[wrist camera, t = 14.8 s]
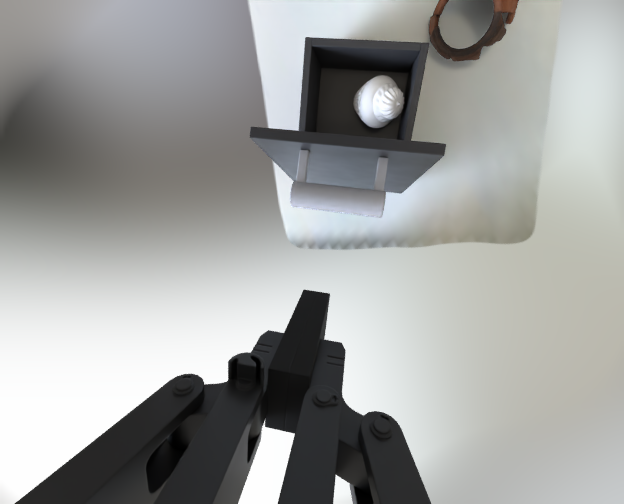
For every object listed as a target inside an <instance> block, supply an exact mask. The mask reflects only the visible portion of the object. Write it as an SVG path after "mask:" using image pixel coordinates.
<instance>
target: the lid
mask: <svg viewBox="0 0 624 504" xmlns="http://www.w3.org/2000/svg"><path fill="white" fill-rule="evenodd" d="M250 138H251V139H252V140H253V141H254V142H255V143H256V144H257V145H258V146H259V147H260V148H261V149H262V150H263V151H264V152H265V153H266V154H267V155H268V156H269V157H270V158H271V159H272V160H273V161H274V162H275V163H276V164H277V165H278V166H279V167H280V168H281V169H282V170H283V171H284V172H285V173H286V174H287V175H288V176H289V177H290V178H291V179H292V180H293V181H294V182H293V184H292V188H291V194H290V203H291V206H292V207H298V208H307V209H315V210H323V211H331V212H339V213H347V214H356V215H364V216H372V217H380V218H381V217H382V214H383V210H384V204H385V196H386V192H394V193H402V192H403V191H405V190H406V189H407V188H408V187H409V186H410V185H411V184H412V183H414V182H415V181H416V180H417V179H418V178H419V177H420V176H422V175H423V174H424V173H425V172H426V171H427V170H428V169H429V168H431V167H432V166H433V165H434V164H435V163H436V162H437V161H438V160H440V159H441V158H442V157H443V156H444V154H445V147H446V144H441V143H430V142H418V141H407V140H396V139H384V138H373V137H362V136H350V135H339V134H327V133H316V132H305V131H293V130H282V129H271V128H258V127H251V131H250Z"/></svg>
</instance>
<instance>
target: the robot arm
mask: <svg viewBox="0 0 624 504" xmlns="http://www.w3.org/2000/svg"><path fill="white" fill-rule="evenodd" d="M329 297H330V294H328V293H322V292H316V291H309V290H303V293H302V295H301V297H300V299H299V301H298V304H297V306H296V308H295V310H294V313H293V315H292V318H291V319H290V321H289V324H288V326H287V328H286V330H285V333H279V332H274V331H269V330H268V331H267V332H265V333H264V334H263V335H261V336H260V338H259V340H258V342H257V344H256V345H255V347H254V348H253V350H252V352H251V353H241V354H238V355H236V356H234V357H232V358H231V359H230V360H229V362H228V378H229V379H228V381H227V382H224V383H219V384H208V385H207V384H206V385H204V382H203V379H202V378H201V377H199V376H198V375H194V374H184V375H181V376H177V377H175V378H174V379H172V380H170V381H169V382H168V383H166V384H165V385H164V386H163V387H161V388H160V389H159V390H158V391H156V392H155V393H154V394H152V395H151V396H150V397H149V398H147V399H146V400H145V401H144V402H143V403H141V404H140V405H139V406H137V407H136V408H135V409H134V410H132V411H131V412H130V413H128V414H127V415H126V416H125V417H123V418H122V419H121V420H120V421H118V422H117V423H116V424H115V425H113V426H112V427H111V428H110V429H108V430H107V431H106V432H105V433H103V434H102V435H101V436H99V437H98V438H97V439H96V440H95V441H93V442H92V443H91V444H90V445H88V446H87V447H86V448H84V449H83V450H82V451H81V452H79V453H78V454H77V455H76V456H74V457H73V458H72V459H71V460H69V461H68V462H67V463H66V464H64V465H63V466H62V467H60V468H59V469H58V470H57V471H55V472H54V473H53V474H52V475H50V476H49V477H48V478H47V479H46V480H44V481H43V482H41V483H40V484H39V485H38V486H37V487H35V488H34V489H33V490H31V491H30V492H29V493H28V494H26V495H25V496H24V497H23V498H21V499H20V500H19V501H17V502H16V503H15V504H238V501H239V499H240V496H241V493H242V490H243V487H244V485H245V482H246V479H247V476H248V473H249V471H250V468H251V465H252V463H253V459H254V457H255V454H256V451H257V449H258V446H259V443H260V440H261V430H262V426H263V423H264V421H265V427H269V428H273V429H278V430H282V431H286V432H291V433H295V437H294V440H293V445H292V448H291V452H290V457H289V461H288V465H287V468H286V473H285V477H284V481H283V485H282V489H281V493H280V497H279V501H278V504H333V497H334V486H335V475H338V476H339V477H341V478H342V479H344V480H345V481H347V482H349V483H350V490H351V495H352V501H353V504H431V502H430V499H429V497H428V494H427V492H426V490H425V487H424V484H423V482H422V480H421V477H420V475H419V472H418V470H417V467H416V465H415V462H414V460H413V457H412V455H411V452H410V450H409V447H408V445H407V443H406V440H405V437H404V435H403V432H402V430H401V428H400V426H399V425H398V423H397V422H396V421H395V420H394V419H393V418H392V417H391V416H389V415H387V414H385V413H382V412H377V411H374V412H368V413H367V414H366V415H364V416H363V415H361V414H359V413H357V412H355V411H354V410H352V409H351V408H350V407H349V406H348V405H347V404H346V403H345V401H344V399H343V397H342V385H343V373H344V361H345V349H344V347H343V345H342V343H340V342H334V341H328V340H324V336H325V329H326V321H327V312H328V305H329ZM265 418H266V419H265Z"/></svg>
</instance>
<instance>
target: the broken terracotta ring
mask: <svg viewBox="0 0 624 504" xmlns="http://www.w3.org/2000/svg"><path fill="white" fill-rule="evenodd" d="M448 1H449V0H439V2H438V4H437V6H436V9H435V11H434V14H433V16H432V17H431V18H430V24H429V34H430V41H431V43H432V45H433V46H434V48H435V49H436V51H437V52H438V53H439V54H440V55H441V56H443V57H444V58H446V59H450V58H451V59H452V60H453V61H464V60H477V59H479V56H480V53H481V49H482V47H483V46H491V45H493V44H494V43H495V42H497V41H500V40H501V39H502V38H503V36H504V35H505V33H506V29H505V28H504V26H505V25H504V22H503V18H502V13H508V16H507V20H506V24H511V23H512V21H513V18H514V16H515V11H516V8H517V3H518V1H519V0H493V4H494V15H493V19H492V22H491V25H490V27H489V29H488V30H487V32H486V33H485V35H484V36H483V37H482V38H481V39H480V40H479V41H478V42H477V43H476V44H474V45H472V46H470V47H468V48H464V49H455V48H452V47H450V46H449V45H447V44H446V43H445V42H444V40H443V39H442V36H441V34H440V29H439V26H438V22H439V17H440V15H441V14H442V11H443V9H444V7H445V5H446V4H447V2H448Z"/></svg>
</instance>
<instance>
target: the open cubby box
mask: <svg viewBox="0 0 624 504" xmlns="http://www.w3.org/2000/svg"><path fill="white" fill-rule="evenodd" d="M428 48H429V43H417V42H395V41H373V40H351V39H329V38H309V37H306V38H305V51H304V65H303V79H302V93H301V107H300V121H299V131H305V132H316V133H327V134H339V135H350V136H362V137H373V138H384V139H396V140H407V141H411V137H412V132H413V126H414V121H415V116H416V111H417V105H418V100H419V95H420V90H421V84H422V79H423V74H424V69H425V63H426V58H427V53H428ZM381 75H384V76H388V77H390V78H392V79H393V80H394V82H395V83H396V85H397V86H398V89H400V90H401V92H403V97H404V102H405V103H404V104H403V109H402V111H401V113H400V114H399V115H398V116H397V117H396V118H393V119H392V121H391V122H390V123H389V124H387V125H386V126H384V127H381V128H372V127H369V126H368V125H367V124H366V123H364V122H363V121H362V120H361V118H360V117H359V115H358V114H357V113H356V111H355V109H354V104H353V103H354V102H353V101H354V98H355V95H356V93H357V91H358V90H359V89H360V88H361V87H362V86H363V85H364V84H365V83H366V82H367V81H370V80H371V79H373V78H374V77H377V76H381Z"/></svg>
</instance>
